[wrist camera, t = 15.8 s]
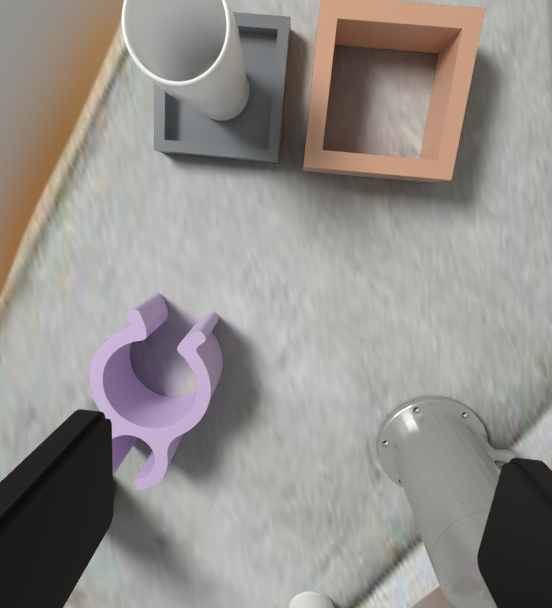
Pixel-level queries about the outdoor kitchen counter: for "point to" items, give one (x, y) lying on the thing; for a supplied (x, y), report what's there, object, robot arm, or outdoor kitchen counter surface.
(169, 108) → the charcoal tray
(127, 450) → the clip
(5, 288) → the outdoor kitchen counter surface
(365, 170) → the terracotta holder
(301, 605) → the foam cup
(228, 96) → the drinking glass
